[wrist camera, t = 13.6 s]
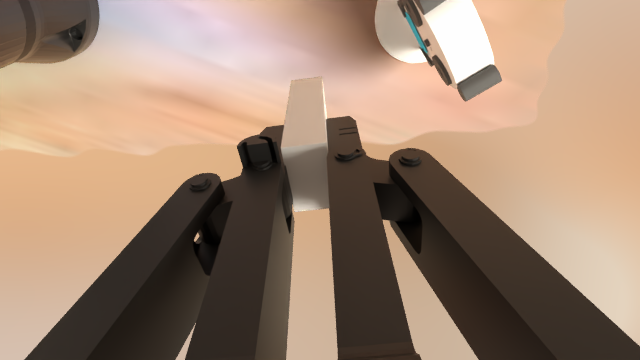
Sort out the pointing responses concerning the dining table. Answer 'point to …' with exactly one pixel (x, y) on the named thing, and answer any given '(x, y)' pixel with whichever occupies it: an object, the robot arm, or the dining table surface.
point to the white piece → (439, 40)
